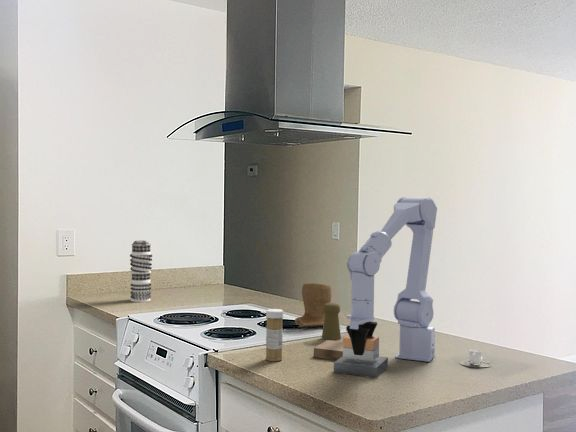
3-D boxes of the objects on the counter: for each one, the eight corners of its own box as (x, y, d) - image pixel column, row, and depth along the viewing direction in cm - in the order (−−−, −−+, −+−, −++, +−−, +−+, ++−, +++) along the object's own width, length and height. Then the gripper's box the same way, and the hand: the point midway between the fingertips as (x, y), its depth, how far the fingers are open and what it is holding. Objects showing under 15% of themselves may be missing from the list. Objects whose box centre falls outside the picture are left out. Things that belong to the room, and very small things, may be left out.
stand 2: (387, 367, 162) (388, 357, 162) (376, 377, 152) (376, 367, 152) (347, 362, 166) (347, 352, 166) (333, 372, 156) (333, 362, 156)
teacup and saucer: (471, 360, 172) (471, 345, 172) (497, 366, 166) (498, 350, 166) (453, 365, 166) (453, 349, 166) (479, 371, 160) (480, 355, 160)
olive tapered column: (329, 335, 199) (329, 301, 199) (344, 338, 195) (345, 303, 195) (317, 338, 194) (318, 303, 194) (333, 341, 191) (334, 305, 190)
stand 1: (363, 352, 177) (364, 343, 177) (352, 361, 167) (352, 352, 167) (327, 348, 181) (327, 340, 181) (313, 357, 171) (313, 348, 171)
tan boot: (323, 321, 223) (323, 279, 223) (341, 327, 213) (342, 283, 212) (286, 324, 216) (286, 281, 215) (303, 331, 205) (304, 285, 205)
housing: (378, 356, 160) (379, 337, 159) (373, 361, 155) (373, 341, 155) (349, 352, 163) (349, 333, 163) (342, 357, 158) (342, 337, 158)
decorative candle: (144, 302, 257) (145, 241, 256) (125, 301, 259) (125, 241, 259) (156, 299, 265) (156, 240, 265) (136, 298, 268) (137, 239, 267)
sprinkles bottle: (273, 356, 171) (274, 307, 170) (286, 359, 168) (286, 309, 167) (261, 359, 167) (262, 309, 167) (274, 362, 164) (274, 312, 164)
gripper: (355, 294, 167) (355, 344, 167) (338, 302, 153) (337, 357, 154) (381, 296, 164) (380, 347, 164) (366, 304, 151) (365, 360, 151)
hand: (361, 352), depth 159 cm, fingers closed on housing, 5 cm apart
